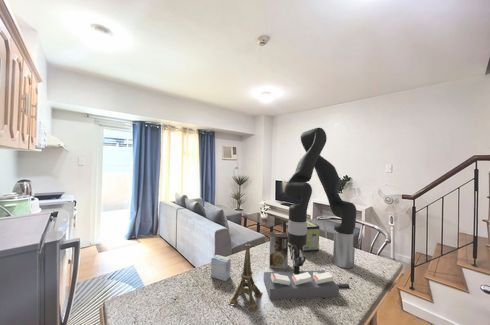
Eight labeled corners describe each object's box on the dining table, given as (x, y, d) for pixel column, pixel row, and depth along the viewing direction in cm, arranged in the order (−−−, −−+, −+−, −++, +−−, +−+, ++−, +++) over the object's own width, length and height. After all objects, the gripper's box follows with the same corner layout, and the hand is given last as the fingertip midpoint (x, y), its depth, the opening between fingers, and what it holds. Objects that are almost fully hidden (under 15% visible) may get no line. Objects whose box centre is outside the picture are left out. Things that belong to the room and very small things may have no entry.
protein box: (287, 246, 128) (288, 221, 128) (309, 244, 132) (310, 220, 132) (295, 253, 118) (296, 227, 118) (319, 251, 122) (320, 225, 122)
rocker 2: (308, 275, 85) (307, 271, 85) (312, 280, 81) (311, 276, 81) (292, 280, 84) (291, 276, 84) (295, 285, 81) (294, 281, 81)
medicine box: (230, 277, 92) (231, 258, 92) (225, 282, 88) (226, 262, 88) (216, 272, 96) (216, 254, 96) (210, 277, 92) (211, 258, 92)
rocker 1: (286, 279, 84) (287, 275, 84) (289, 285, 80) (290, 280, 80) (270, 277, 83) (271, 273, 83) (272, 282, 80) (273, 278, 80)
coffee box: (286, 263, 107) (287, 232, 106) (287, 269, 100) (288, 237, 100) (268, 261, 108) (269, 231, 107) (269, 268, 101) (270, 235, 101)
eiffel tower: (256, 312, 71) (258, 241, 71) (228, 304, 75) (230, 237, 74) (262, 293, 82) (264, 231, 81) (237, 287, 85) (239, 228, 84)
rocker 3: (328, 275, 86) (328, 271, 86) (333, 280, 82) (332, 276, 82) (313, 279, 85) (312, 275, 85) (317, 284, 82) (316, 280, 82)
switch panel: (340, 278, 94) (340, 268, 94) (357, 296, 82) (357, 284, 82) (263, 281, 90) (263, 270, 90) (269, 299, 78) (270, 287, 78)
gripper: (313, 237, 76) (312, 283, 76) (300, 225, 89) (299, 264, 89) (294, 237, 75) (292, 283, 75) (283, 225, 88) (282, 265, 89)
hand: (296, 273), depth 82 cm, fingers closed
